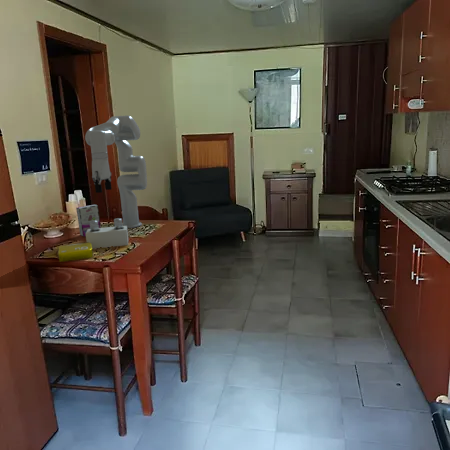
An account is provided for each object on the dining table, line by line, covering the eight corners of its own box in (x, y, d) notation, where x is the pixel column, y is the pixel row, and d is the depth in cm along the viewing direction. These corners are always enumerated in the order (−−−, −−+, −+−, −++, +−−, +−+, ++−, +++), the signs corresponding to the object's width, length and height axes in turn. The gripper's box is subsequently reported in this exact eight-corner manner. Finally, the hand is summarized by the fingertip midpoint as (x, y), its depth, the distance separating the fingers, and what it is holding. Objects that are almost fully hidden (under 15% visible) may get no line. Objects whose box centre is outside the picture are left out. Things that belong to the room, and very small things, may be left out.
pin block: (89, 243, 217) (87, 229, 216) (128, 240, 221) (126, 225, 219) (87, 248, 208) (85, 233, 206) (128, 244, 211) (126, 229, 210)
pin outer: (91, 231, 213) (89, 220, 212) (99, 231, 214) (98, 219, 213) (90, 233, 209) (89, 222, 208) (98, 233, 210) (97, 221, 209)
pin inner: (115, 229, 215) (114, 218, 214) (123, 229, 216) (121, 217, 215) (114, 231, 212) (113, 220, 210) (122, 230, 212) (121, 219, 211)
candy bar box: (97, 231, 244) (94, 204, 241) (101, 232, 241) (98, 205, 237) (79, 235, 237) (75, 207, 234) (83, 236, 234) (79, 208, 230)
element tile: (91, 250, 207) (90, 240, 206) (93, 258, 193) (92, 248, 192) (59, 254, 202) (58, 245, 201) (59, 263, 188) (57, 253, 187)
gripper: (101, 155, 211) (105, 188, 215) (83, 157, 195) (88, 193, 199) (115, 155, 210) (118, 188, 213) (98, 157, 193) (102, 193, 197)
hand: (103, 191), depth 206 cm, fingers open, 9 cm apart
